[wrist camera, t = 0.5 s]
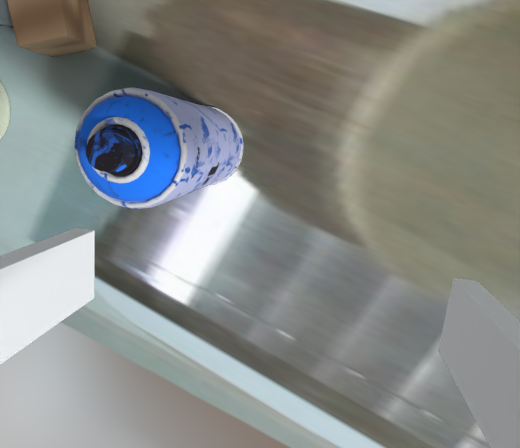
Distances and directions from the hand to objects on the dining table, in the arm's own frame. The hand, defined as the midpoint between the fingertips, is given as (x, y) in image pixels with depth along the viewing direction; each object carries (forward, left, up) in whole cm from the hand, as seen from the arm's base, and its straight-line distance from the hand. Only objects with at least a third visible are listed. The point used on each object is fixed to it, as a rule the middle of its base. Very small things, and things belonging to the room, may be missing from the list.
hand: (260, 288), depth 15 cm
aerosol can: (-3, -10, -27) cm, 29 cm away
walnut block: (-13, -25, -27) cm, 39 cm away
